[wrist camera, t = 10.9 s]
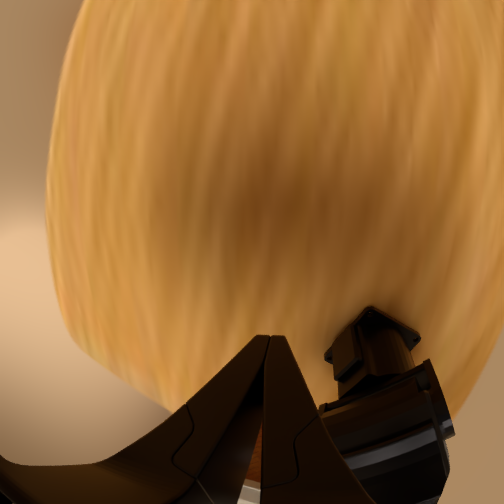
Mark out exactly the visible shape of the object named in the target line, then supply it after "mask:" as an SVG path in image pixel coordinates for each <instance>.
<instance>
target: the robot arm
mask: <svg viewBox="0 0 504 504" xmlns="http://www.w3.org/2000/svg"><path fill="white" fill-rule="evenodd" d="M369 312H372V314H368V313H369ZM414 338H416V339H414ZM420 340H421V337H420V334H419V333H417V332H416V331H414V330H412V329H411V328H409V327H407V326H405V325H404V324H402V323H400V322H399V321H397V320H395V319H393V318H392V317H390V316H388V315H386V314H385V313H383V312H381V311H379V310H378V309H376V308H374V307H372V306H371V307H367V308H366V309H365V310H364V311H363V312H362V313H361V314H360V316H359V317H358V318H357V319H356V320H355V321H354V322H353V324H351V325H349V326H348V327H347V328H346V329H345V331H344V332H343V333H342V334H341V335H340V336H339V337H338V338H337V339H336V340H335V341H334V343H333V344H332V347H331V348H330V349H329V350H328V351H327V352H326V353H325V354H324V360H325V361H326V362H328V363H330V364H333V370H334V380H335V381H338V398H339V400H336V401H334V402H331V403H324V404H321V405H320V406H319V409H317V407H316V405H315V403H314V400H313V398H312V396H311V394H310V391H309V389H308V387H307V385H306V382H305V380H304V378H303V375H302V373H301V371H300V369H299V366H298V364H297V362H296V360H295V357H294V355H293V353H292V350H291V348H290V346H289V344H288V341H287V339H286V337H285V336H283V335H272V336H271V337H270V336H269V335H256V336H255V337H254V338H253V339H252V340H251V341H250V342H249V343H248V344H247V345H246V346H245V347H244V348H243V349H242V350H241V351H240V352H239V353H238V354H237V355H236V356H235V357H234V358H233V359H231V360H230V361H229V362H228V363H227V364H226V365H225V366H224V367H223V368H222V369H221V370H220V371H219V372H218V373H217V374H216V375H215V376H214V377H213V378H212V379H211V380H210V381H209V382H208V383H206V384H205V385H204V386H203V387H202V388H201V389H200V390H199V391H198V392H197V393H196V394H195V395H194V396H193V397H191V398H190V399H189V400H188V401H187V402H186V404H184V405H182V406H181V407H180V408H179V409H178V410H177V411H176V412H175V413H173V414H172V415H171V416H170V417H169V418H168V419H166V420H165V421H164V422H163V423H161V424H160V425H159V426H157V427H156V428H154V429H153V430H152V431H150V432H149V433H148V434H146V435H144V436H143V437H141V438H140V439H138V440H137V441H135V442H134V443H132V444H131V445H129V446H128V447H126V448H124V449H123V450H121V451H120V452H118V453H116V454H115V455H113V456H111V457H109V458H107V459H105V460H103V461H100V462H96V463H92V464H82V465H62V466H28V465H20V464H15V463H12V462H10V461H8V460H6V459H5V458H3V457H2V456H1V455H0V504H237V503H238V500H239V497H240V493H241V490H242V487H243V484H244V481H245V478H246V474H247V471H248V468H249V465H250V461H251V458H252V455H253V451H254V448H255V445H256V441H257V438H258V434H259V431H260V427H261V423H262V451H261V481H260V489H261V491H260V504H437V502H438V500H439V498H440V496H441V494H442V491H443V488H444V486H445V483H446V480H447V478H448V475H449V472H450V464H449V454H448V449H447V446H446V442H445V440H446V439H448V438H451V437H453V436H455V432H454V428H453V424H452V420H451V417H450V414H449V411H448V407H447V404H446V401H445V398H444V395H443V392H442V390H441V387H440V384H439V382H438V379H437V376H436V374H435V371H434V369H433V366H432V364H431V361H430V359H427V360H425V361H423V363H422V364H420V365H418V366H416V367H415V365H414V362H413V359H412V356H411V353H410V351H411V350H412V349H413V348H414V347H415V346H416V345H417V344H418V343H419V342H420ZM329 356H332V357H329Z"/></svg>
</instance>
